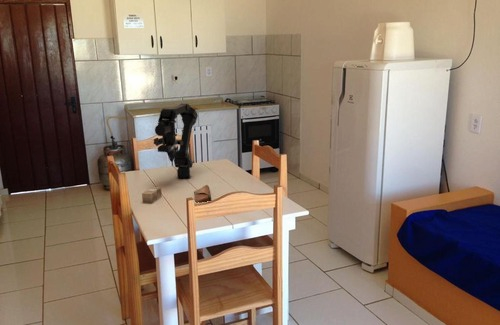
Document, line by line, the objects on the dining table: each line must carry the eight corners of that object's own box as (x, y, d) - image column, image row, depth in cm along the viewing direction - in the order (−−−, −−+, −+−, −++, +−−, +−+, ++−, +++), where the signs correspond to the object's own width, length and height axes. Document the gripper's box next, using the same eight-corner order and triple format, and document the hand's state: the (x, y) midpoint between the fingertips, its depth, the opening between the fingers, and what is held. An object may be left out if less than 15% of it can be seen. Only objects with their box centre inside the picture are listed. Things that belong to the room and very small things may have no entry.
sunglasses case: (192, 191, 226) (198, 180, 225) (204, 197, 227) (211, 186, 226) (193, 203, 208) (200, 191, 207) (206, 209, 210) (213, 198, 209)
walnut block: (151, 186, 218) (141, 192, 209) (161, 187, 217) (151, 193, 208) (152, 196, 220) (142, 203, 210) (161, 197, 218) (152, 204, 209)
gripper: (163, 128, 241) (165, 156, 245) (147, 135, 223) (149, 165, 227) (182, 129, 238) (184, 157, 242) (167, 136, 220) (169, 166, 224)
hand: (171, 161), depth 234 cm, fingers closed
